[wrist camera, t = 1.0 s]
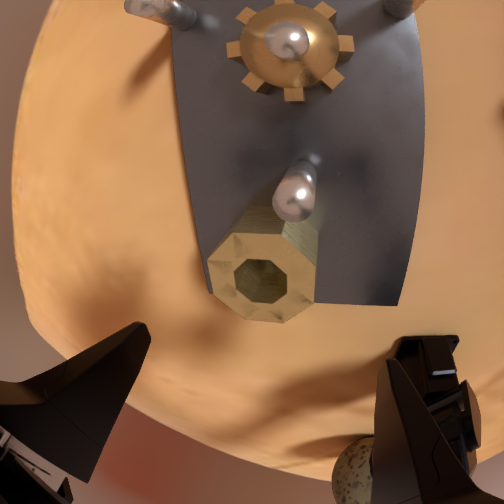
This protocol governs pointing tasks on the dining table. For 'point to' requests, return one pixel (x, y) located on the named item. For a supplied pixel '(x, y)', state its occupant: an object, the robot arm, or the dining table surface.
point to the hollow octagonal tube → (265, 277)
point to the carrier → (304, 127)
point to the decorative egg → (353, 474)
